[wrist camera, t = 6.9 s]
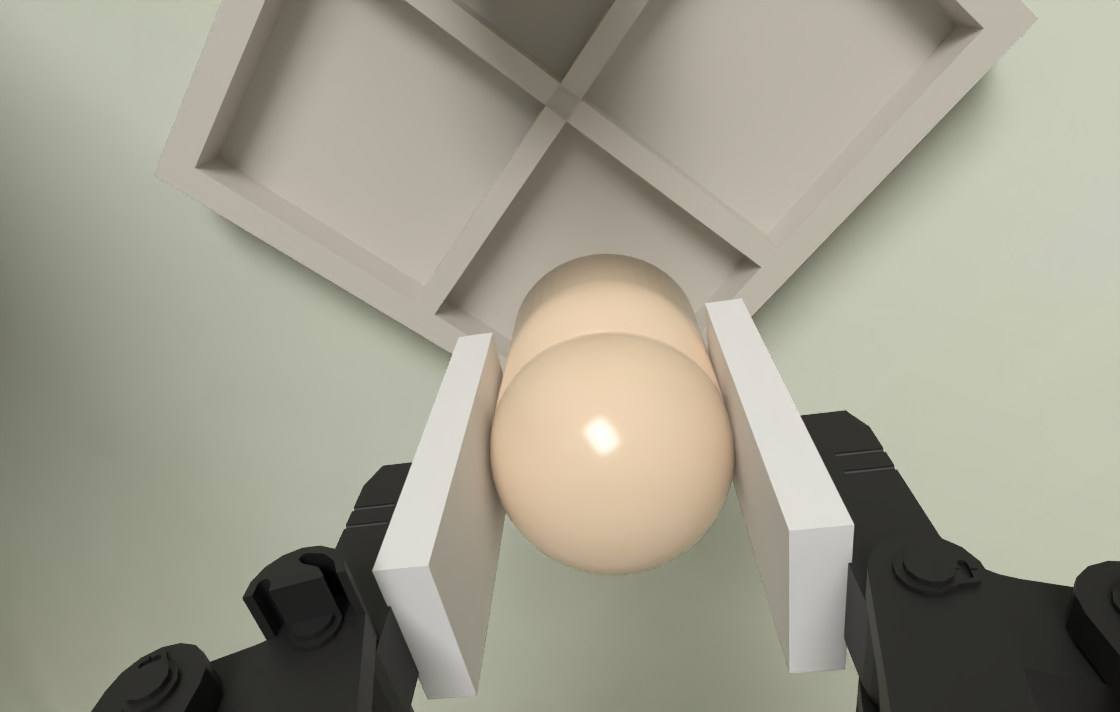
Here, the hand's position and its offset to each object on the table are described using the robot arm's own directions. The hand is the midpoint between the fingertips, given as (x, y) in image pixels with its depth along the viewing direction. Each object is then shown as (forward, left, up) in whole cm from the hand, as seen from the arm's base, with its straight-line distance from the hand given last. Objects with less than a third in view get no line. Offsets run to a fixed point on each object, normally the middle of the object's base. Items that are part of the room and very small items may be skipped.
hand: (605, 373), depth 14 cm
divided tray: (-4, +3, -6) cm, 8 cm away
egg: (0, 0, -2) cm, 2 cm away
